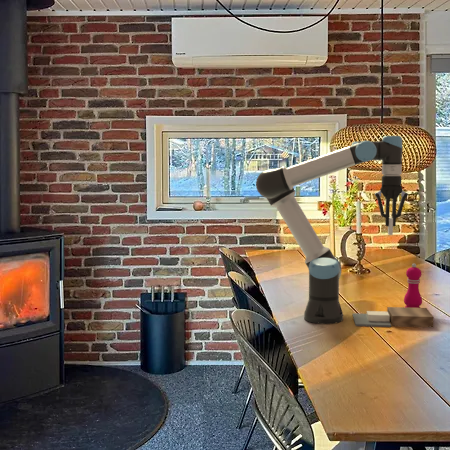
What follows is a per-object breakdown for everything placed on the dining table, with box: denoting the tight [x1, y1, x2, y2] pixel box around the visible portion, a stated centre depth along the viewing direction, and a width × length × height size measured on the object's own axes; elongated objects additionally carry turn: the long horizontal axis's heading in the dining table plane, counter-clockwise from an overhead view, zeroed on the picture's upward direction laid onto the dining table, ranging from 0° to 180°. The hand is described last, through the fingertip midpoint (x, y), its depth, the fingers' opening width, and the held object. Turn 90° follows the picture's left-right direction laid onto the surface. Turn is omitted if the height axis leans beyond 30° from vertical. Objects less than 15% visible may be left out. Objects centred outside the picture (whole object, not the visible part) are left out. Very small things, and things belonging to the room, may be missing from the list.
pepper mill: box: [403, 263, 423, 308], centre depth 245 cm, size 7×7×20 cm
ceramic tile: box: [366, 310, 390, 322], centre depth 232 cm, size 8×6×2 cm
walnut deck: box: [386, 306, 434, 328], centre depth 231 cm, size 15×13×4 cm
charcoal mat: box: [352, 312, 392, 328], centre depth 233 cm, size 13×15×1 cm
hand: (390, 234), depth 239 cm, fingers closed
